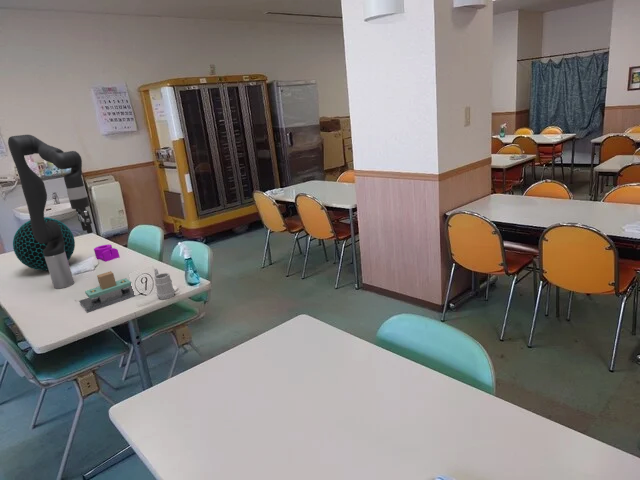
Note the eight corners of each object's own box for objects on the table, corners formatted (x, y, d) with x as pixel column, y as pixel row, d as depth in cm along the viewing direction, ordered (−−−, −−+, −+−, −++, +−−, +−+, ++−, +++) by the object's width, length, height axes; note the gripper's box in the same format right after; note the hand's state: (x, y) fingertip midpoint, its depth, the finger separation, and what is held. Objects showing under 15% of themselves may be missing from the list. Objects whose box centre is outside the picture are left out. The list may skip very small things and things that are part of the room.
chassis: (80, 303, 203) (76, 290, 201) (133, 286, 217) (130, 273, 215) (87, 312, 192) (83, 298, 190) (143, 293, 206) (139, 280, 204)
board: (126, 281, 212) (122, 266, 209) (132, 285, 205) (128, 269, 203) (85, 294, 201) (81, 278, 199) (90, 298, 195) (85, 282, 193)
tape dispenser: (94, 258, 271) (91, 248, 269) (110, 253, 278) (107, 243, 276) (104, 262, 260) (101, 252, 258) (121, 257, 267) (118, 247, 265)
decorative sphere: (83, 255, 278) (70, 208, 270) (77, 270, 251) (61, 218, 242) (29, 266, 269) (13, 218, 260) (16, 282, 242) (-2, 229, 233)
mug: (162, 301, 195) (156, 275, 191) (151, 295, 203) (145, 270, 200) (178, 295, 200) (172, 270, 196) (167, 289, 208) (161, 265, 205)
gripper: (91, 196, 197) (100, 231, 202) (83, 193, 208) (92, 227, 212) (72, 200, 192) (82, 236, 197) (65, 197, 203) (75, 231, 208)
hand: (87, 231), depth 205 cm, fingers open, 8 cm apart
